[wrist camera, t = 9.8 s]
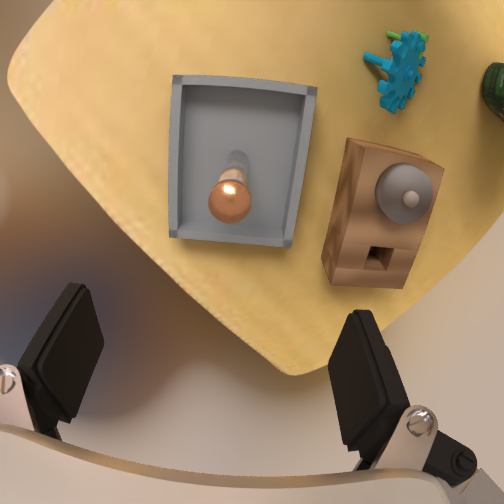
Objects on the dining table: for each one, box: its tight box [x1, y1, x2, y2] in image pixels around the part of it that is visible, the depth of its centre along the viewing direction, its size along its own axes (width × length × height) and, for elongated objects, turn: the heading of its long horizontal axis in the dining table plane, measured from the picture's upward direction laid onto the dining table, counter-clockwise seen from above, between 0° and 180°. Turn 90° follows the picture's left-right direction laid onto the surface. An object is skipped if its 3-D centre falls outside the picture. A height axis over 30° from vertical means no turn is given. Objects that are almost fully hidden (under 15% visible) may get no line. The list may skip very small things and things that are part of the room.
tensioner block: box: [321, 138, 444, 289], centre depth 32 cm, size 16×10×9 cm, turn 174°
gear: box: [363, 31, 428, 114], centre depth 25 cm, size 11×6×10 cm
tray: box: [168, 75, 318, 248], centre depth 31 cm, size 18×14×4 cm
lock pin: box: [208, 150, 251, 223], centre depth 26 cm, size 3×3×13 cm
